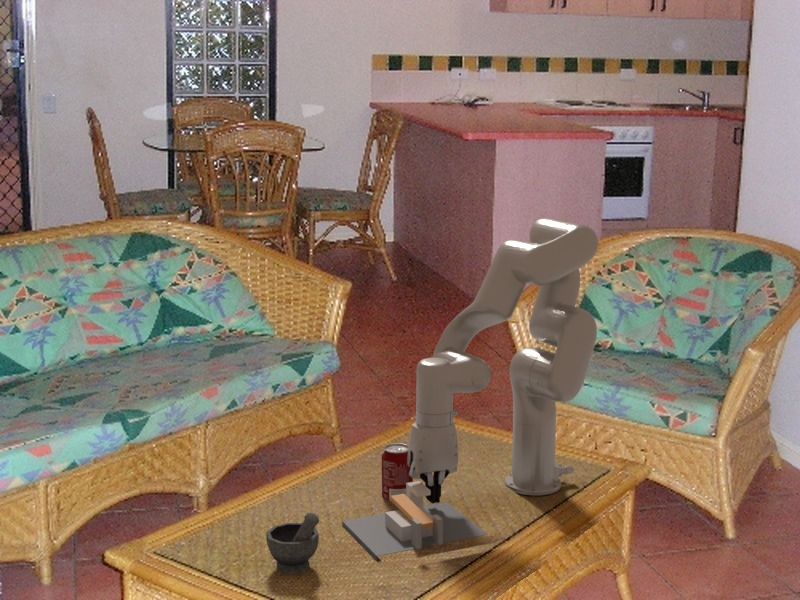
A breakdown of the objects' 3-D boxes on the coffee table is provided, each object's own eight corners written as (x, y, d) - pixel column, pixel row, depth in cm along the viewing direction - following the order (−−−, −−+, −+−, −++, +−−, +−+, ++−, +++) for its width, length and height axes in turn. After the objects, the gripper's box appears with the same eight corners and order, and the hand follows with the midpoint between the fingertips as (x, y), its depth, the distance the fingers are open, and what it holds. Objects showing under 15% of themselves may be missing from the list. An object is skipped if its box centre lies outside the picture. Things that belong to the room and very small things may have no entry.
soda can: (409, 507, 247) (409, 454, 244) (378, 504, 248) (378, 452, 245) (415, 495, 253) (415, 443, 250) (385, 493, 254) (385, 441, 252)
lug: (419, 507, 243) (419, 480, 242) (430, 517, 238) (430, 490, 237) (406, 510, 242) (406, 483, 241) (417, 519, 237) (417, 492, 236)
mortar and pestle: (256, 568, 218) (255, 508, 216) (291, 551, 225) (289, 493, 223) (300, 585, 211) (299, 524, 209) (334, 567, 219) (333, 508, 216)
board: (446, 507, 247) (447, 478, 245) (488, 540, 230) (489, 510, 229) (342, 526, 237) (341, 496, 235) (378, 562, 220) (377, 531, 219)
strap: (403, 498, 238) (403, 493, 238) (433, 526, 226) (433, 522, 226) (390, 500, 237) (390, 495, 237) (419, 529, 225) (419, 524, 224)
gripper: (457, 408, 245) (456, 489, 249) (393, 417, 239) (393, 500, 243) (474, 418, 239) (472, 501, 243) (409, 427, 233) (408, 513, 237)
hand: (432, 500), depth 243 cm, fingers closed
